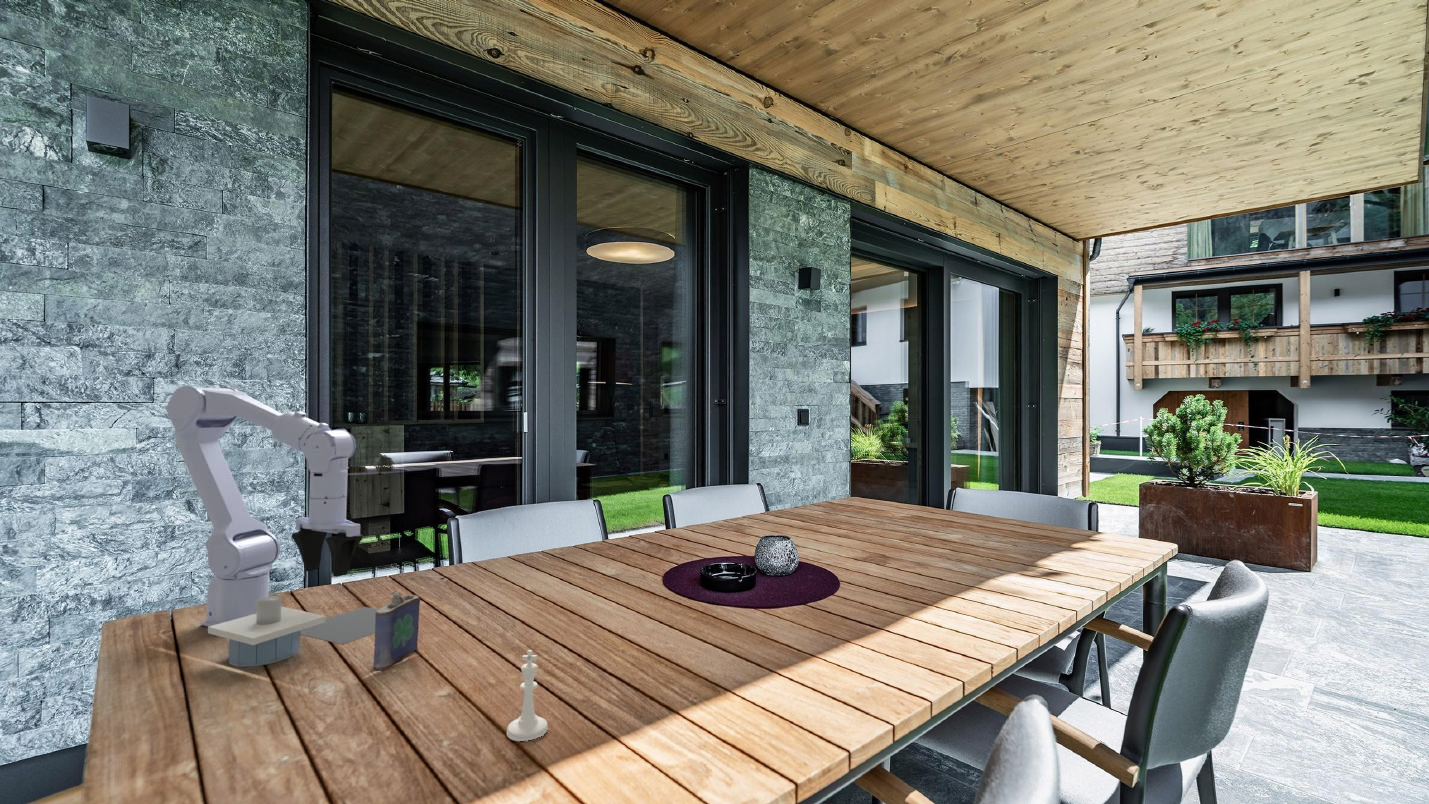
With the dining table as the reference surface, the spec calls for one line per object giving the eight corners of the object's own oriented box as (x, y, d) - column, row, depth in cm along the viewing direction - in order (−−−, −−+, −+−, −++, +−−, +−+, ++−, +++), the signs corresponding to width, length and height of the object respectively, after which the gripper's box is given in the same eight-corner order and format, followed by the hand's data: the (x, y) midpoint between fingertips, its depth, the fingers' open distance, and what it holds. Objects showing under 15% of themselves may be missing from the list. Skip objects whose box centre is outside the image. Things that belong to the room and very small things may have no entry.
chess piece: (511, 721, 79) (514, 643, 79) (551, 721, 80) (553, 643, 80) (502, 742, 74) (504, 658, 74) (543, 741, 75) (546, 658, 75)
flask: (384, 672, 93) (386, 601, 93) (366, 671, 93) (368, 599, 93) (422, 649, 102) (423, 584, 102) (405, 648, 102) (407, 583, 103)
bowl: (214, 662, 95) (216, 633, 95) (275, 642, 103) (276, 615, 103) (252, 673, 91) (253, 642, 92) (312, 651, 100) (312, 623, 100)
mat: (286, 633, 107) (286, 631, 107) (364, 608, 121) (364, 606, 121) (342, 646, 102) (343, 644, 102) (417, 619, 116) (417, 617, 116)
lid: (207, 633, 95) (208, 603, 95) (281, 612, 105) (282, 585, 105) (253, 645, 91) (254, 614, 91) (325, 622, 101) (326, 594, 101)
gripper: (279, 496, 110) (276, 572, 110) (334, 502, 104) (331, 583, 104) (318, 492, 116) (315, 564, 116) (371, 497, 111) (369, 573, 111)
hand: (325, 572), depth 111 cm, fingers open, 7 cm apart
